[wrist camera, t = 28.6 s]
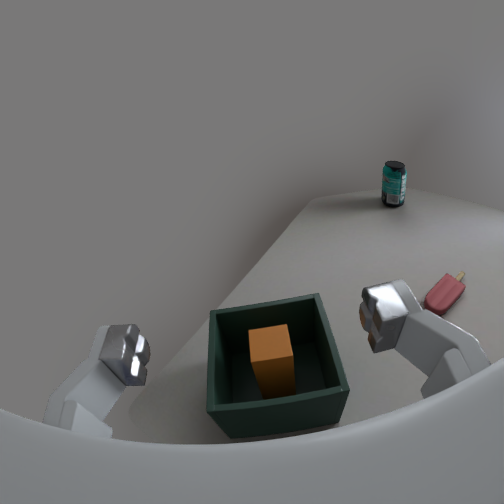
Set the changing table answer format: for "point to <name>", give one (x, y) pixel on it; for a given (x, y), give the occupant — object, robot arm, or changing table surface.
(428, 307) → the popsicle
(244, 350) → the open green box
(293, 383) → the orange rectangular prism
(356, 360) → the changing table surface
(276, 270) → the changing table surface
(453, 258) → the changing table surface
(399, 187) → the beverage can
